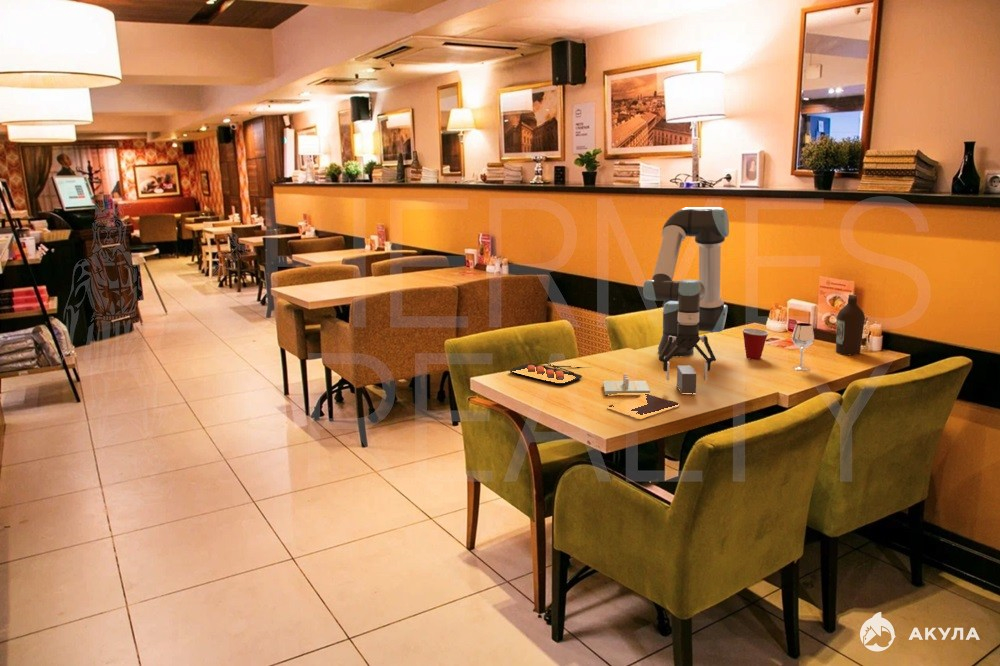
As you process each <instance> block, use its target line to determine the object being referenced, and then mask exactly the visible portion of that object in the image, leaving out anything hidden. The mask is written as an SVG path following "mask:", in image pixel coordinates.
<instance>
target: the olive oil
mask: <svg viewBox="0 0 1000 666" xmlns="http://www.w3.org/2000/svg"><path fill="white" fill-rule="evenodd" d="M857 303H858V295H856V294H848V298H847V303H846V305H844V306H843V307H842V308H841V309H840V310H839V311H838V313H837V316H836V334H835V335H836V337H835V338H836V339H835V340H836V341H835V343H836V344H835V352H836V353H837V354H839V353H840V355H843V354H851V355H850V356H854V355H853V354H858V355H860V354H861V350H862V349H861V348H862V340H863V333H864V328H865V321H866V316H865V313H864V311H863V310H862V309H861V307H860V306H859V305H858V304H857ZM859 353H860V354H859Z"/></svg>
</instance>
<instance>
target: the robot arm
mask: <svg viewBox="0 0 1000 666" xmlns="http://www.w3.org/2000/svg"><path fill="white" fill-rule="evenodd" d="M729 233H730V222H729V215H728V212H727V209H725V208H723V207H715V206H713V207H712V206H711V207H709V206H707V207H705V206H703V207H683V208H681V209H678V210H677V211H675V212H674V213H673V214H672V215H670V217H668V219H667V220H666V221H665V223H664V225H663V226H662V230H661V237H662V241H661V243H660V244H661V245H660V248H659V252H658V255H657V259H656V262H655V267H654V269H653V273H652V277H651V279H646V280H645V281H644V284H643V286H642V287H643V289H642V291H643V292H642V293H643V298H644V299H646V300H649V301H656V302H657V301H667V302H665V303H664V304H663V310H662V336H661V338H660V341H659V344H658V347H657V349H658V350H657V351H658V354H659V356H658V358H657V359H658V361H659V362H662V363H663V365H662V366H663V369H662V370H663V372H665V379H666V381H668V382H669V381H670V362H669V361H670V360H671V359H672V358H673V356H678V357H679V358H680V356H683V357H689V356H692V355H694V351H695V350H694V348H695V349H696V350H697V352H698V353H699V354H700V355H701V356H702V357H703V358H704V360H705V361H703V377H702V378H703V380H704V381H708V372H710V371H711V363H712V362H716V360H717V358H716V356H715V354H714V353H713V350H712V348H711V346H710V344H709V339H708V336H707V335H706V334H703V335H701V336H699V335H700V333H699V332H709V333H710V332H711V333H720V332H723V330H724V328H725V325H726V320H727V314H728V308H729V307H728V305H727V304H725V302H724V301H725V300H724V299H723V298H722V297H721V265H722V263H721V262H722V261H721V254H722V253H721V250H722V249H721V248H722V246H721V245H722V244H723V243H724V242H726V241H725V240H726V238H727V237H729ZM686 237H694V241H695V243H696V244H697V245H698V280H697V279H681V280H673V278H674V274H675V272H676V271H675V270H676V267H677V263H678V259H679V254H680V250H681V248H682V247H681V246H682V242H684V241H685V239H686ZM700 341H701V342H702V343H703V344H704V346H705V348H706V351H707V353H708V355H709V356H710V357H709V356H708V355H707V354H706V353H705V352H704V351H703V349H702V348H701V347H700V346H699V345H698V343H699V342H700Z"/></svg>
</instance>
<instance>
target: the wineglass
mask: <svg viewBox="0 0 1000 666" xmlns="http://www.w3.org/2000/svg"><path fill="white" fill-rule="evenodd" d="M791 340H792V342H793V344H794V346H796V347H797V348H798V349H799V350H800V361H799V365H793V366H792V367H791V368H792V369H793V370H794V371H795V370H796V371H801V370H802V371H809V370H810V367H808V366H806V365H803V361H804V359H803V358H804V357H803V356H804V351H805V350H806V349H807V348H809V347H810V346H812V345H813V343H814V342H815V333H814V329H813V324H812V323H807V322H798V323H795V325H794V329H793V332H792V335H791Z"/></svg>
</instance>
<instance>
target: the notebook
mask: <svg viewBox="0 0 1000 666" xmlns="http://www.w3.org/2000/svg"><path fill="white" fill-rule="evenodd" d="M645 395H647V396H646V397H647V398H646V400H647V403H648V404H647V405H644V406H641V407H638V408H635V409H632V410H631V411H638V412H637V413H638V414H640V415H643V413H644V414H647V413H651V412H655V411H659V410H661V409H664V408H668V407H672V406H675V405H678V404H679V402H676V401H674V400H669V399H666V398H665V399H664V398H661V397H658V396H655V395H652V394H650V395H649V394H645ZM679 405H680V404H679ZM608 406H609V407H612V406H613V404H609V405H608ZM613 407H614V406H613ZM637 413H636V414H637Z"/></svg>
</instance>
